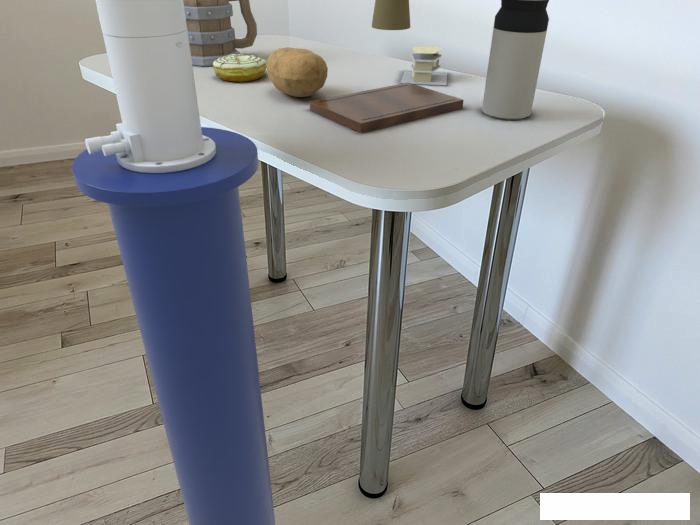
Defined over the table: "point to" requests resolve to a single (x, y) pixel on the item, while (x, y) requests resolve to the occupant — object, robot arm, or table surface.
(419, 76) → the stacked layers on plate
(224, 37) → the tankard
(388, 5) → the olive tapered rounded piece
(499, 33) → the travel mug
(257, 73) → the decorated donut
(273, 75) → the potato
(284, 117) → the table surface
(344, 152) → the table surface
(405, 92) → the cutting board
